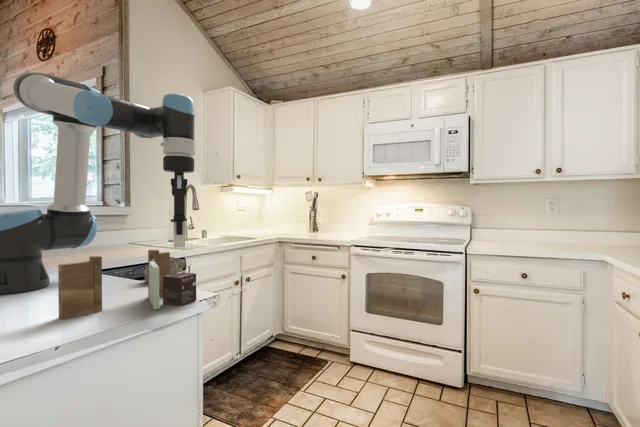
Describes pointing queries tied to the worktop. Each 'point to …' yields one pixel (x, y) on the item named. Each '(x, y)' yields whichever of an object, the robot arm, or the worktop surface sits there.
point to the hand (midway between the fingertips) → (179, 246)
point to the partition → (94, 284)
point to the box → (179, 288)
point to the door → (154, 284)
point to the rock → (175, 267)
